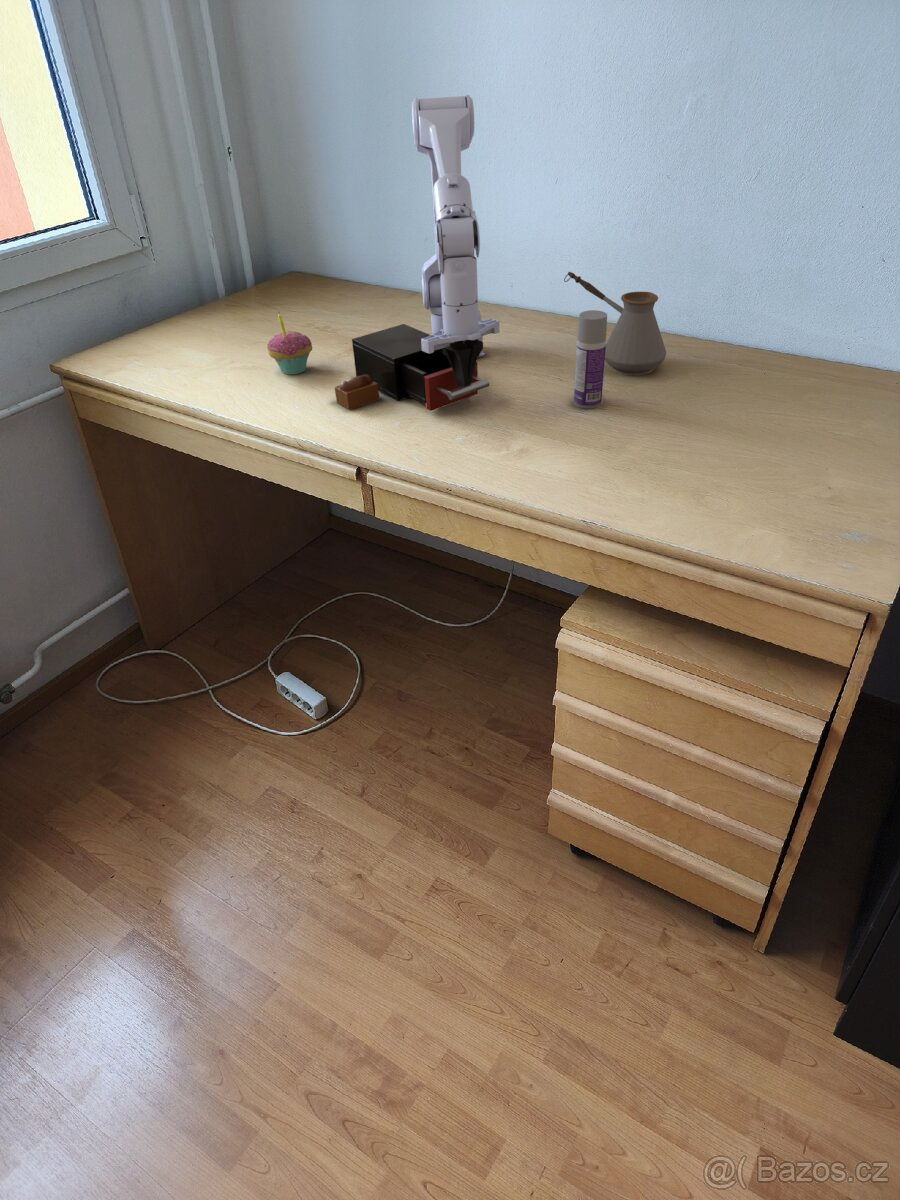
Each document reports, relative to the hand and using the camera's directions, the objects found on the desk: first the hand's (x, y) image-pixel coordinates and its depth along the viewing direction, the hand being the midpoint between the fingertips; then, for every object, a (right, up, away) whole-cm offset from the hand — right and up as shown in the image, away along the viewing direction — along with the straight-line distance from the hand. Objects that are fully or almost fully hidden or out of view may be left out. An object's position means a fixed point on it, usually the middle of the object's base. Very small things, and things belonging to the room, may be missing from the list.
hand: (463, 385), depth 133 cm
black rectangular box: (-11, +5, +15) cm, 19 cm away
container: (+21, -2, +4) cm, 22 cm away
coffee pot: (+28, +9, +18) cm, 35 cm away
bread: (-19, 0, +9) cm, 21 cm away
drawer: (-4, 0, +7) cm, 8 cm away
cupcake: (-33, +9, +22) cm, 40 cm away
